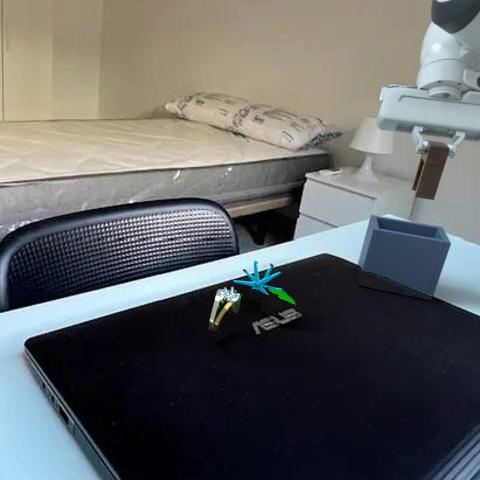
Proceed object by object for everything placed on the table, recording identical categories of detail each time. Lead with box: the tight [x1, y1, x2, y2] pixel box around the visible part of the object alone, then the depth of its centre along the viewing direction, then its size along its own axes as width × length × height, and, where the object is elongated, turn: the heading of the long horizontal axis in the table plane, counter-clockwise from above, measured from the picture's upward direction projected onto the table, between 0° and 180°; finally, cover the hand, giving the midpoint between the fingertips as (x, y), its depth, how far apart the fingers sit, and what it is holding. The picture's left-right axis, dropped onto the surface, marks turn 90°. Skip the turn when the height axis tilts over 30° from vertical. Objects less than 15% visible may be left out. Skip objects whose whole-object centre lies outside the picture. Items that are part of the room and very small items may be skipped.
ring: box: [208, 286, 242, 332], centre depth 68 cm, size 7×3×8 cm, turn 142°
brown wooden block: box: [411, 139, 450, 201], centre depth 87 cm, size 3×6×9 cm, turn 162°
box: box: [357, 214, 452, 297], centre depth 88 cm, size 12×8×11 cm, turn 72°
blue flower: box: [233, 259, 297, 305], centre depth 79 cm, size 12×7×8 cm
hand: (435, 154), depth 85 cm, fingers closed on brown wooden block, 3 cm apart
